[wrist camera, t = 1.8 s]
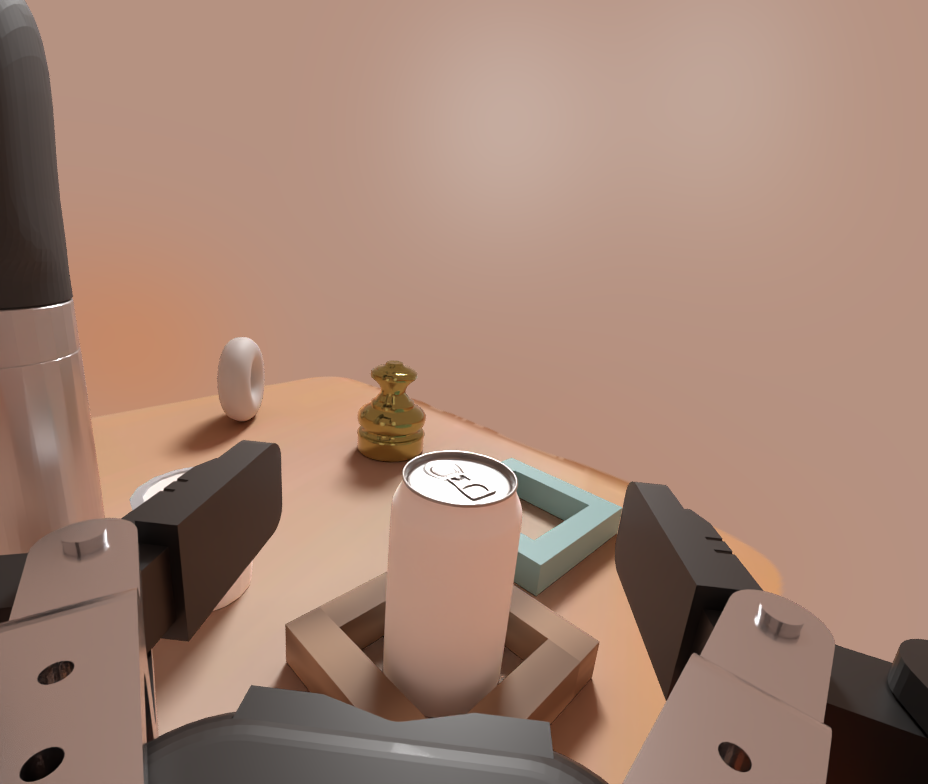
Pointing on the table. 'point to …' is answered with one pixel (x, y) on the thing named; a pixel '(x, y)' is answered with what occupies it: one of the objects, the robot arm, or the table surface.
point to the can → (450, 579)
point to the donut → (241, 379)
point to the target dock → (559, 527)
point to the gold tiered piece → (391, 417)
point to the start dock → (366, 687)
